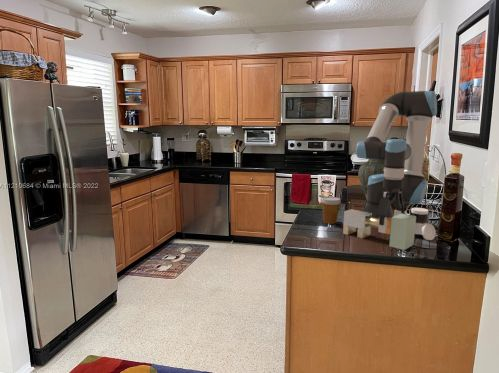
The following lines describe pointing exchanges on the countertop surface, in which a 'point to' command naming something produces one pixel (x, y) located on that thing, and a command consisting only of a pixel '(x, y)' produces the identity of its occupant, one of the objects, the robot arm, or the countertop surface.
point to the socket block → (402, 231)
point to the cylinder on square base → (375, 223)
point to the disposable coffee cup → (330, 209)
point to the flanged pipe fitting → (423, 224)
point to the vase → (370, 172)
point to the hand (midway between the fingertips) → (389, 228)
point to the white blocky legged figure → (356, 223)
